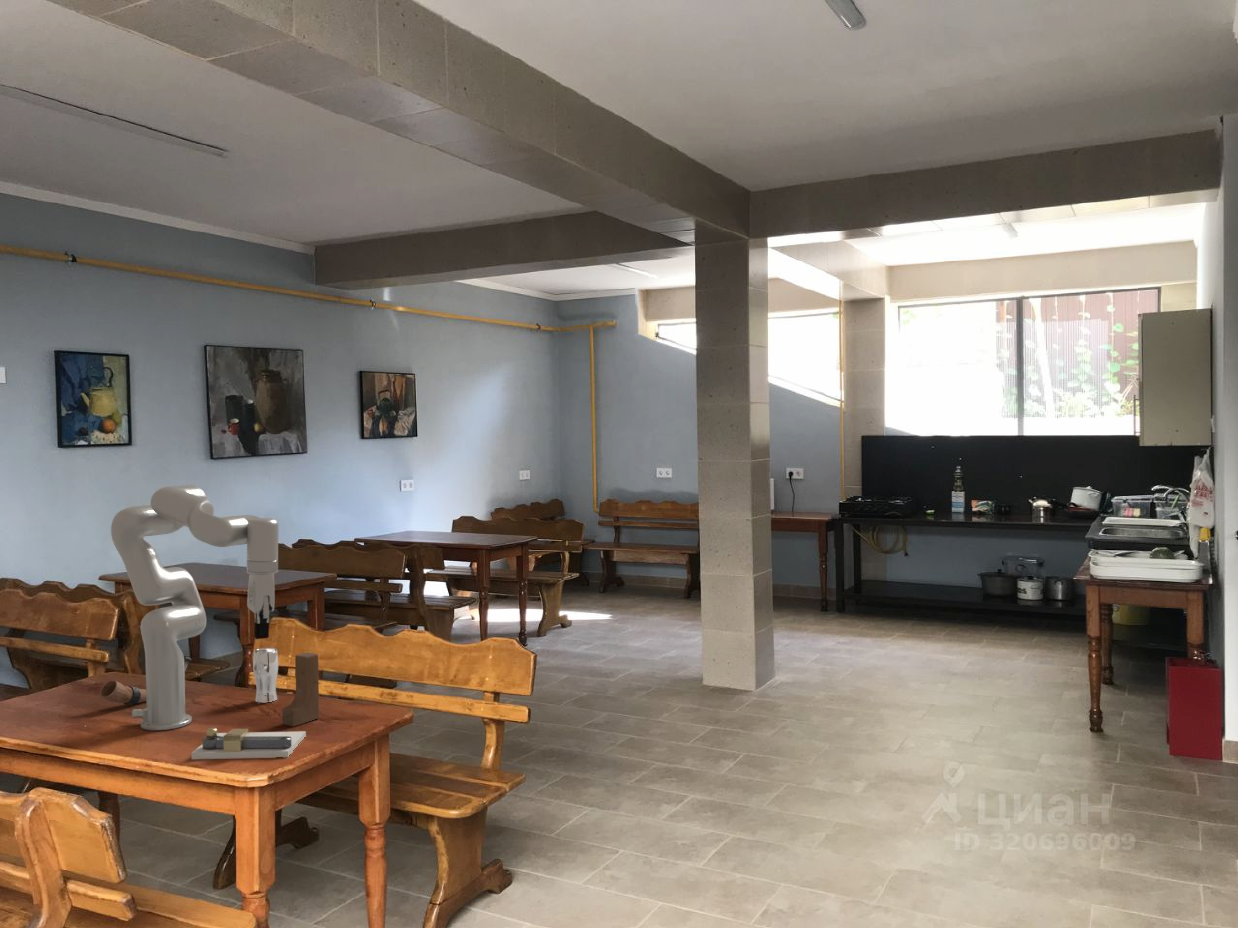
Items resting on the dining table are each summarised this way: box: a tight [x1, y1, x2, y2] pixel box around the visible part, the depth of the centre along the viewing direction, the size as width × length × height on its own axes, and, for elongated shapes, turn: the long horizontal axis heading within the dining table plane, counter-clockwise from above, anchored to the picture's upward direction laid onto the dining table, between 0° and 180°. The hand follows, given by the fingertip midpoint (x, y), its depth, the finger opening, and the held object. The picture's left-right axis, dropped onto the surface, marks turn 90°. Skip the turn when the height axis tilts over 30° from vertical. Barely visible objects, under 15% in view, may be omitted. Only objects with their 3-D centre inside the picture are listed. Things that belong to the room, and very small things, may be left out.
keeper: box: [206, 727, 249, 752], centre depth 243 cm, size 9×6×5 cm, turn 93°
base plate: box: [191, 730, 307, 760], centre depth 248 cm, size 23×16×2 cm
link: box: [201, 736, 292, 749], centre depth 243 cm, size 22×4×2 cm, turn 89°
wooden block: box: [281, 652, 320, 728], centre depth 270 cm, size 9×4×18 cm, turn 146°
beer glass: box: [252, 647, 279, 704], centre depth 291 cm, size 7×7×15 cm
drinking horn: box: [99, 656, 192, 705], centre depth 293 cm, size 6×30×10 cm, turn 154°
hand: (261, 637), depth 254 cm, fingers closed
